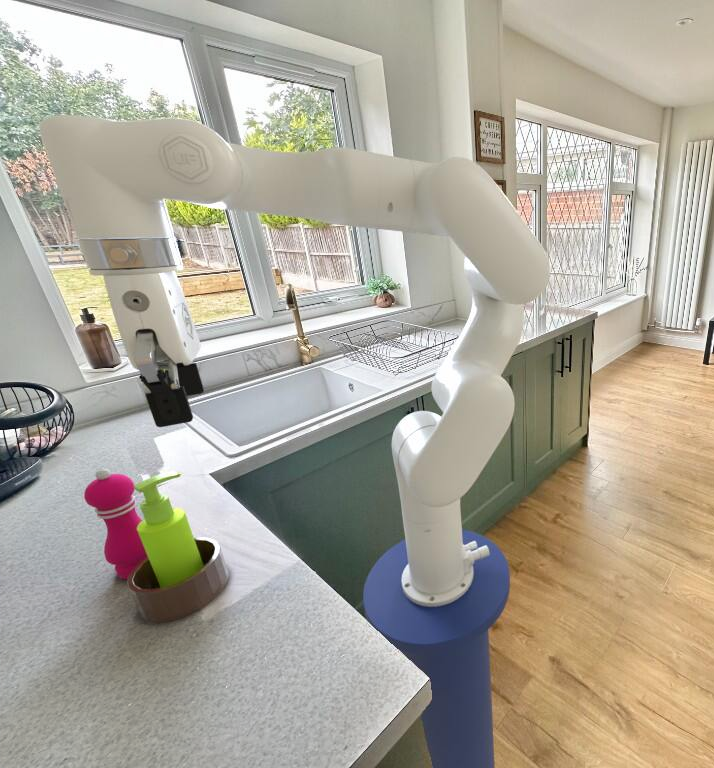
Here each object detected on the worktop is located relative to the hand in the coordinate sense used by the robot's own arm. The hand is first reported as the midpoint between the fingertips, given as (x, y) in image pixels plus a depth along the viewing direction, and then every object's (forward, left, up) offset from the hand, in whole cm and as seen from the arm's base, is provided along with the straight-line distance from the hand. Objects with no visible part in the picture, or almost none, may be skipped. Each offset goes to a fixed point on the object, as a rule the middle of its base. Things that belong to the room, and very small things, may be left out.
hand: (183, 408), depth 49 cm
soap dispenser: (+10, -15, -36) cm, 40 cm away
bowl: (+10, -14, -36) cm, 40 cm away
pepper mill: (+18, -25, -36) cm, 48 cm away
